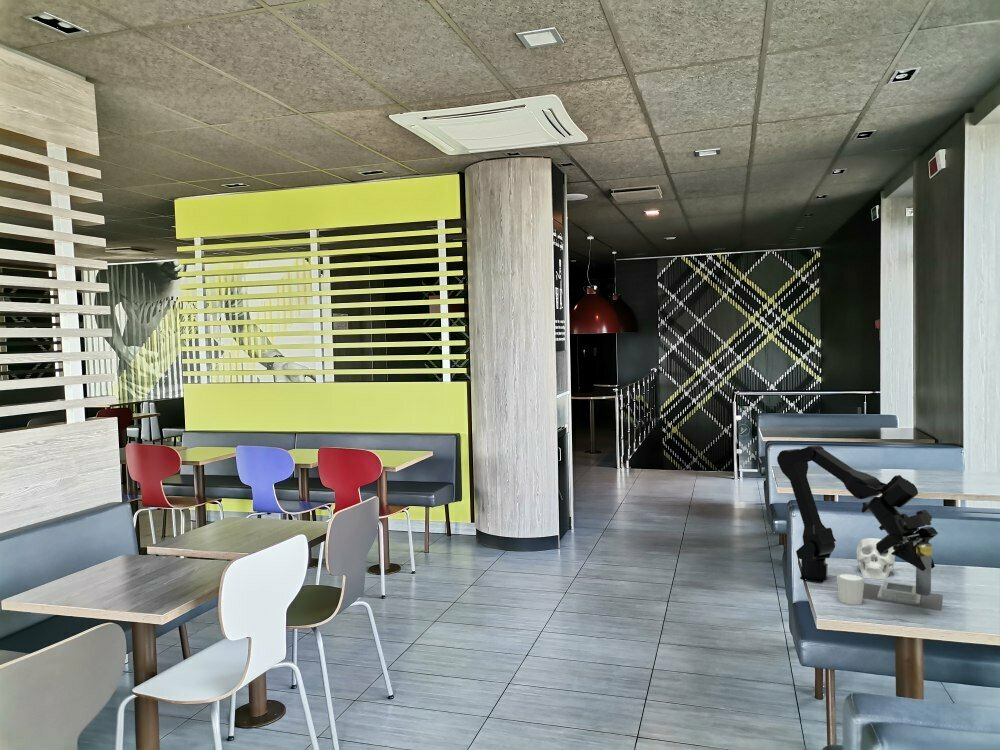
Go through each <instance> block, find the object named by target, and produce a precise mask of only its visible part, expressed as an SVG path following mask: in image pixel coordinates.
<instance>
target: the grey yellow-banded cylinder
mask: <svg viewBox="0 0 1000 750" xmlns="http://www.w3.org/2000/svg"><path fill="white" fill-rule="evenodd" d="M916 553H917V555H918V556H919V558H920V559H921V561H922V562H923V564H924V565H925V567H926V569H925V570H924V571H922V570H920V569H918V568H917V567H915V586H916V593H917V594H919V595H924V596H929V595H931V593H932V569H931V561H932V559H933V557H932V555H933V544H932V543H930V542H929V543H927V542H917V544H916Z"/></svg>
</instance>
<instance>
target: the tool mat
mask: <svg viewBox="0 0 1000 750" xmlns="http://www.w3.org/2000/svg"><path fill="white" fill-rule="evenodd" d="M881 586H882V585H880V584H879V585H878V584H873V583H865V582H864V590H863V599H866V600H873V601H878V602H884V603H892V604H898V605H903V606H909V607H910V606H911V607H915V608H921V609H926V610H927V609H928V610H935V611H940V612H941V611H942V607H943V599H944V598H943V594H938V593H933V592H931V595H929V596H924V595H921V600H920V606H917V605H910V604H904V603H898V602H892V601H885V600H879V599H877V595H878V593H879V590H880V587H881Z"/></svg>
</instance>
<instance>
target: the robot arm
mask: <svg viewBox="0 0 1000 750" xmlns="http://www.w3.org/2000/svg"><path fill="white" fill-rule="evenodd" d="M776 458H777V459H776V462H777V464H778V465H779V468H780V470H781V472H782V474H783V475H784V476H785V477H786V478H787V479H788V480H789V482H790V485H791V488H792V492H793V495H794V499H795V501H796V504H797V508H798V511H799V514H800V517H801V521H802V525H803V526H804V527H803V532H802V542H803V543H802V544H803V545H801V546H800V547H798V549H797V550H795V553H796V557H797V559H799V560H801V567H800V568H801V570H800V571H801V575H800V576H799V580H801V581H802V580H803V581H809V582H815V583H821V584H822V583H824V582H826V581H825V580H827V578H828V577H829V576H828V575H829V573H828V568H829V567H828V566H829V565H828V563H826V560H827V559H829V558H830V557H831V554H832V553H833V552H834V550H835V548H836V544H835V543H836V541H837V539H836V538H835V537H834V534H833V529H832V528H831V527H826V526H825V524H823V522H822V520H821V518H820V514H819V510H818V509H817V505H816V502H815V498H814V496H813V492H812V490H811V486H810V483H809V480H808V478H807V477H808V471H809V462H813V463H814V464H816V465H817V466H819V467H820V468H822V469H823V470H825V471H826V472H828V474H831V476H833V477H834V478H836V479H837V480H839V481H841V482H842V483H843V485H844V487H845V489H846V490H847V491H848V492H849V493H850V494H851V495H852V496H853V497H854V498H856V499H858V500H865V499H870V498H872V499H871V500H869V501H865V502H862V508H861V513H868V512H869V513H870V512H871V514H872V516H873V517H874V518H875V519H876V520H877V522H878V523H879V524H880V526H878V528H879V530H880V531H885V532H886V533H887V535H885V536H884V537H883V538H881V539H882V540H880V541H879V542H878V543H877V544H876V549H877V551H878V552H879V553H880V556H881V555H882V554H887V553H888V549H889V548H891V547H893V549H894V552H892V553H891V554H892V555H895V557H897V558H899V559H901V560H903V561H905V562H906V563H909V564H910V565H912V566H913V567H915V568H916V567H917V568H918V569H920V570H922V571H924V570H925V569H926V567H925V565H924V564H923V562H922V561H921V559H920V558H919V556H918V555H917V553H916V544H917V542H927V543H930V542H929V541H930V540H931V541H932V540H933V538H935V537H936V536H937V535H939V532H938V531H937V530H936V529H935V527H933V526H932V519H933V516H932V514H930V513H929V511H927V510H926V509H921V510H919V511H916V514H915V515H910V516H908V514H906V513H901V512H899V510H898V509H897V508H903V507H904V506H905V505H907V504H908V503H909V502H911V500H913V499H914V498H915V497H916V496H918V494H919V491H918V488H917V486H916V485H915V484H914V483H912V482H911V481H909V480H908V479H905V478H904V477H903V476H901V474H899V475H894V476H893V477H892V478H891V480H890V481H889V482H887V483H885V482H882V481H880V480H879V479H878V478H877V477H876V476H873V475H871V474H869V473H866V472H864V471H859V470H856V469H854V468H852V467H850V465H848V464H846V462H844V461H842V460H841V459H839V458H838V457H836V456H835V455H833V454H832V453H830V452H828V451H827V450H826V449H824V447H823V446H821V445H809V446H806V447H804V448H794V449H783V450H781V451H780V452H779V453H778V455H777V457H776ZM935 567H936V565H935V563H934V560H933V558H932V561H931V570H933V569H934V568H935ZM805 579H806V580H805Z"/></svg>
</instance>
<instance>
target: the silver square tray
mask: <svg viewBox="0 0 1000 750" xmlns="http://www.w3.org/2000/svg"><path fill="white" fill-rule="evenodd" d="M880 586H881V587H880V590H879V593H878V595H877V599H879V600H885V601H892V602H898V603H904V604H910V605H917V606H920V600H921V595H919V594H917V593H916V585H913V584H912V585H911V584H906V583H897V582H894V581H893V582H892V581H884V582H883V585H880Z"/></svg>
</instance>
